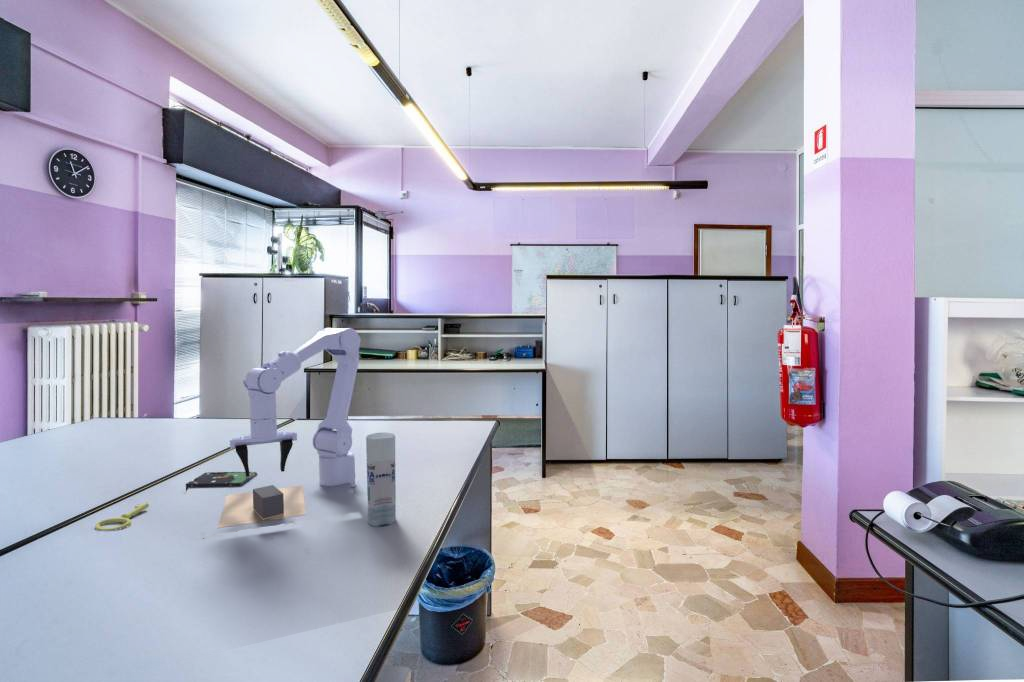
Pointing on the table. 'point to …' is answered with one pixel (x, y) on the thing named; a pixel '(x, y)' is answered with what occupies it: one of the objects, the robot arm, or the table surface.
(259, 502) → the block
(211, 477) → the disk drive
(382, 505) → the spray paint can
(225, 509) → the oak board
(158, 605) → the table surface
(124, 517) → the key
